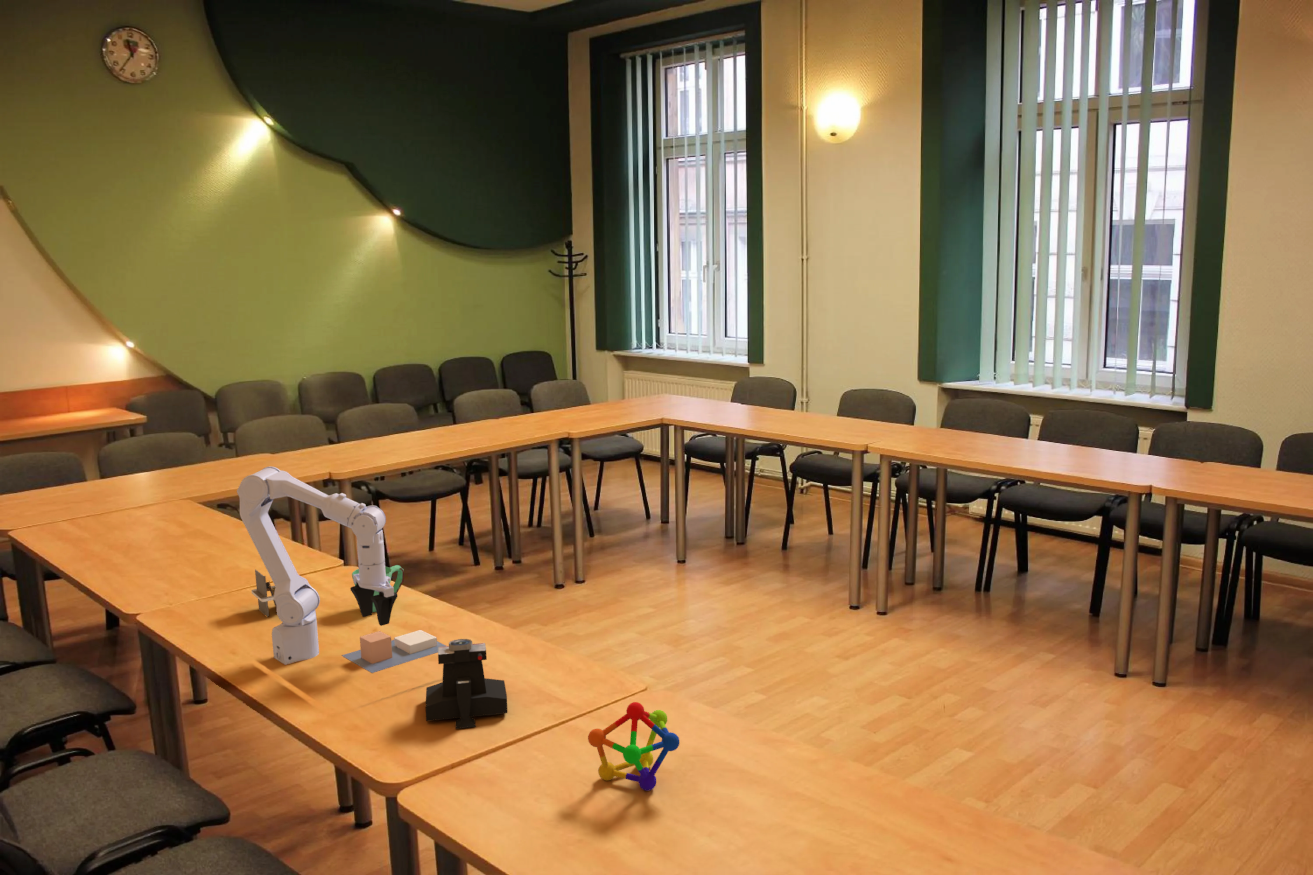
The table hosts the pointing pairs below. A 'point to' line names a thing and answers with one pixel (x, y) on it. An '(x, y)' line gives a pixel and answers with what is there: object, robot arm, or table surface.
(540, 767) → the table surface
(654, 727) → the educational toy
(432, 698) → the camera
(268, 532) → the robot arm
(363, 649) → the terracotta block
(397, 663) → the board
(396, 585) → the mug
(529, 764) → the table surface
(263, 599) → the architectural model
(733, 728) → the table surface
